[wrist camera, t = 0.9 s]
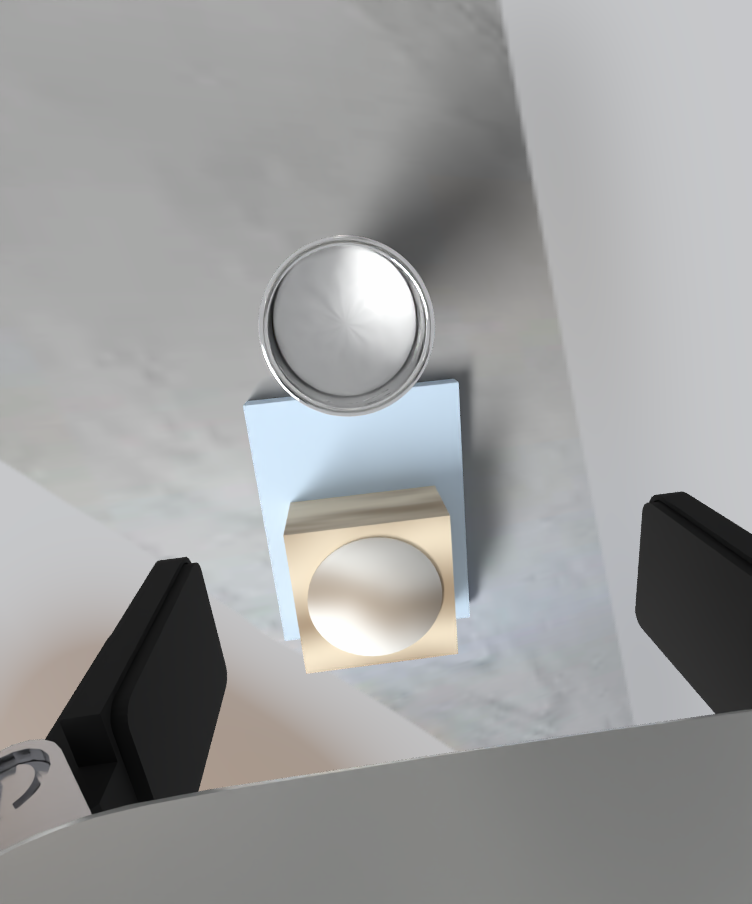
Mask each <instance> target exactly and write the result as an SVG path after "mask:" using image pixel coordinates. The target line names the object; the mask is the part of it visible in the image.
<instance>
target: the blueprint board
mask: <svg viewBox="0 0 752 904" xmlns="http://www.w3.org/2000/svg"><path fill="white" fill-rule="evenodd" d="M243 408H244V414H245V419H246V425H247V430H248V436H249V442H250V447H251V453H252V458H253V464H254V470H255V475H256V481H257V486H258V492H259V498H260V503H261V509H262V514H263V520H264V526H265V531H266V537H267V542H268V548H269V554H270V559H271V565H272V570H273V576H274V582H275V587H276V593H277V598H278V604H279V610H280V615H281V621H282V626H283V632H284V638H285V641H288V640H296V639H300V633H299V627H298V621H297V615H296V609H295V603H294V597H293V591H292V585H291V579H290V573H289V567H288V561H287V555H286V549H285V543H284V537H283V534H284V530H285V525H286V520H287V516H288V511H289V506H290V503H291V502H299V501H307V500H316V499H324V498H333V497H341V496H350V495H358V494H367V493H375V492H384V491H392V490H401V489H409V488H418V487H426V486H435V487H436V489H437V491H438V493H439V495H440V497H441V499H442V501H443V503H444V505H445V507H446V509H447V510H448V512H449V514H450V524H451V541H452V558H453V576H454V593H455V611H456V619H458V618H466V617H470V612H469V591H468V570H467V550H466V529H465V508H464V487H463V466H462V445H461V424H460V403H459V382H457V381H456V380H455V379H445V380H436V381H427V382H417V383H415V385H414V386H413V387H412V388H411V389H410V390H409V391H408V392H407V393H406V394H405V395H404V396H403V397H402V398H400V399H399V400H398V401H396V402H395V403H393V404H391V405H390V406H388V407H386V408H384V409H382V410H379V411H376V412H374V413H370V414H366V415H361V416H335V415H329V414H325V413H322V412H319V411H316V410H313V409H311V408H309V407H307V406H305V405H304V404H302V403H300V402H299V401H297V400H296V399H294V398H293V397H292V396H289V397H280V398H271V399H262V400H253V401H247V402H246V403H245V404H244V405H243Z"/></svg>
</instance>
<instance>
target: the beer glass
mask: <svg viewBox="0 0 752 904" xmlns="http://www.w3.org/2000/svg"><path fill="white" fill-rule="evenodd" d="M258 334H259V341H260V346H261V350H262V353H263V356H264V359H265V361H266V363H267V366H268V368H269V369H270V371H271V373H272V375H273V376H274V378H275V379H276V380H277V382H278V383H279V384H280V385H281V386H282V388H283V389H284V390H285V391H286V392H287V393H288V394H290V395H291V396H292V397H293V398H294V399H296V400H297V401H299V402H300V403H302V404H304V405H305V406H307V407H309V408H311V409H313V410H316V411H319V412H322V413H325V414H329V415H335V416H361V415H366V414H370V413H374V412H376V411H379V410H382V409H384V408H386V407H388V406H390V405H391V404H393V403H395V402H396V401H398V400H399V399H400V398H402V397H403V396H404V395H405V394H406V393H407V392H408V391H409V390H410V389H411V388H412V387H413V386H414V385H415V383H416V382H417V381H418V379H419V378H420V376H421V375H422V373H423V372H424V370H425V368H426V366H427V363H428V361H429V358H430V356H431V352H432V348H433V344H434V337H435V317H434V310H433V305H432V301H431V298H430V295H429V293H428V290H427V288H426V286H425V284H424V282H423V280H422V278H421V277H420V275H419V274H418V272H417V271H416V270H415V268H414V267H413V266H412V265H411V264H410V263H409V262H408V261H407V260H406V259H405V258H404V257H403V256H402V255H400V254H399V253H398V252H396V251H395V250H394V249H392V248H390V247H389V246H387V245H385V244H383V243H381V242H378V241H376V240H373V239H370V238H366V237H361V236H354V235H337V236H330V237H325V238H322V239H318V240H316V241H313V242H311V243H308V244H306V245H305V246H303V247H301V248H299V249H298V250H296V251H295V252H294V253H292V254H291V255H290V256H289V257H288V258H286V259H285V260H284V261H283V262H282V264H281V265H280V266H279V267H278V268H277V270H276V271H275V272H274V274H273V275H272V277H271V279H270V280H269V282H268V284H267V286H266V288H265V291H264V294H263V296H262V300H261V304H260V308H259V316H258Z"/></svg>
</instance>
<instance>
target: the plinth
mask: <svg viewBox="0 0 752 904" xmlns="http://www.w3.org/2000/svg"><path fill="white" fill-rule="evenodd" d="M283 537H284V543H285V549H286V555H287V561H288V567H289V573H290V579H291V585H292V591H293V597H294V603H295V609H296V615H297V621H298V627H299V633H300V639H301V645H302V651H303V657H304V663H305V668H306V673H307V674H308V673H316V672H323V671H331V670H338V669H346V668H353V667H361V666H369V665H376V664H384V663H391V662H399V661H406V660H414V659H422V658H429V657H437V656H444V655H452V654H458V646H457V628H456V611H455V593H454V576H453V558H452V541H451V524H450V514H449V512H448V510H447V509H446V507H445V505H444V503H443V501H442V499H441V497H440V495H439V493H438V491H437V489H436V487H435V486H426V487H418V488H409V489H401V490H392V491H384V492H375V493H367V494H358V495H350V496H341V497H333V498H324V499H316V500H307V501H299V502H291V503H290V506H289V511H288V516H287V520H286V525H285V530H284V534H283Z"/></svg>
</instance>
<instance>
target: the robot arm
mask: <svg viewBox="0 0 752 904" xmlns="http://www.w3.org/2000/svg"><path fill="white" fill-rule="evenodd" d="M635 613H636V617H637V620H638V623H639V625H640V626H641V628H642V629H643V630H644V631H645V633H646V634H647V635H648V636H649V637H650V638H651V639H652V641H653V642H654V643H655V644H656V645H657V646H658V648H659V649H660V650H661V651H662V652H663V653H664V655H665V656H666V657H667V658H668V659H669V660H670V662H671V663H672V664H673V665H674V666H675V667H676V669H677V670H678V671H679V672H680V673H681V674H682V675H683V677H684V678H685V679H686V680H687V681H688V682H689V684H690V685H691V686H692V687H693V688H694V689H695V690H696V692H697V693H698V694H699V695H700V696H701V698H702V699H703V700H704V701H705V702H706V703H707V704H708V706H709V707H710V708H711V709H712V710H713V712H715V714H713V715H705V716H699V717H691V718H685V719H678V720H670V721H664V722H656V723H649V724H642V725H635V726H628V727H621V728H614V729H607V730H600V731H593V732H587V733H580V734H573V735H566V736H559V737H552V738H546V739H539V740H532V741H525V742H518V743H512V744H505V745H498V746H491V747H485V748H478V749H471V750H465V751H458V752H451V753H445V754H438V755H431V756H425V757H418V758H411V759H405V760H398V761H392V762H386V763H379V764H373V765H366V766H359V767H354V768H347V769H340V770H333V771H327V772H320V773H314V774H307V775H302V776H294V777H288V778H282V779H275V780H268V781H262V782H255V783H249V784H242V785H236V786H230V787H222V788H216V789H210V790H205V791H199V792H198V790H199V787H200V783H201V779H202V775H203V772H204V768H205V764H206V760H207V757H208V753H209V749H210V745H211V742H212V737H213V734H214V730H215V726H216V723H217V719H218V714H219V711H220V707H221V703H222V700H223V696H224V692H225V688H226V683H227V670H226V665H225V661H224V657H223V653H222V649H221V646H220V641H219V637H218V633H217V630H216V626H215V622H214V618H213V614H212V610H211V606H210V602H209V599H208V594H207V590H206V586H205V583H204V579H203V575H202V571H201V568H200V565H199V564H198V563H191V562H190V560H189V558H187V557H182V558H175V559H167V560H160V561H157V562H156V563H155V565H154V567H153V568H152V570H151V571H150V573H149V575H148V576H147V578H146V580H145V581H144V583H143V584H142V586H141V588H140V589H139V591H138V592H137V594H136V596H135V597H134V599H133V600H132V602H131V604H130V605H129V607H128V609H127V610H126V612H125V614H124V615H123V617H122V618H121V620H120V621H119V623H118V625H117V626H116V628H115V630H114V631H113V633H112V634H111V636H110V637H109V638H108V639H107V641H106V642H105V644H104V646H103V647H102V649H101V651H100V652H99V654H98V655H97V657H96V659H95V660H94V662H93V663H92V665H91V667H90V668H89V670H88V671H87V673H86V675H85V676H84V678H83V679H82V681H81V683H80V684H79V686H78V687H77V689H76V691H75V692H74V694H73V695H72V697H71V699H70V700H69V702H68V703H67V705H66V707H65V708H64V710H63V712H62V713H61V715H60V716H59V718H58V719H57V721H56V723H55V724H54V726H53V728H52V729H51V731H50V732H49V734H48V736H47V737H46V739H45V740H44V739H42V740H28V741H25V742H22V743H18V744H15V745H11V746H10V747H7V748H5V749H3V750H1V751H0V904H752V534H751V533H749V532H748V531H746V530H744V529H743V528H741V527H739V526H738V525H737V524H735V523H733V522H732V521H730V520H729V519H727V518H725V517H724V516H722V515H721V514H719V513H717V512H715V511H714V510H713V509H711V508H709V507H708V506H706V505H705V504H703V503H701V502H700V501H698V500H697V499H695V498H694V497H692V496H690V495H689V494H687V493H685V492H675V493H667V494H659V495H654V496H653V497H652V498H651V500H650V502H649V503H646V504H645V505H644V507H643V511H642V524H641V537H640V551H639V565H638V579H637V593H636V606H635Z"/></svg>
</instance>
